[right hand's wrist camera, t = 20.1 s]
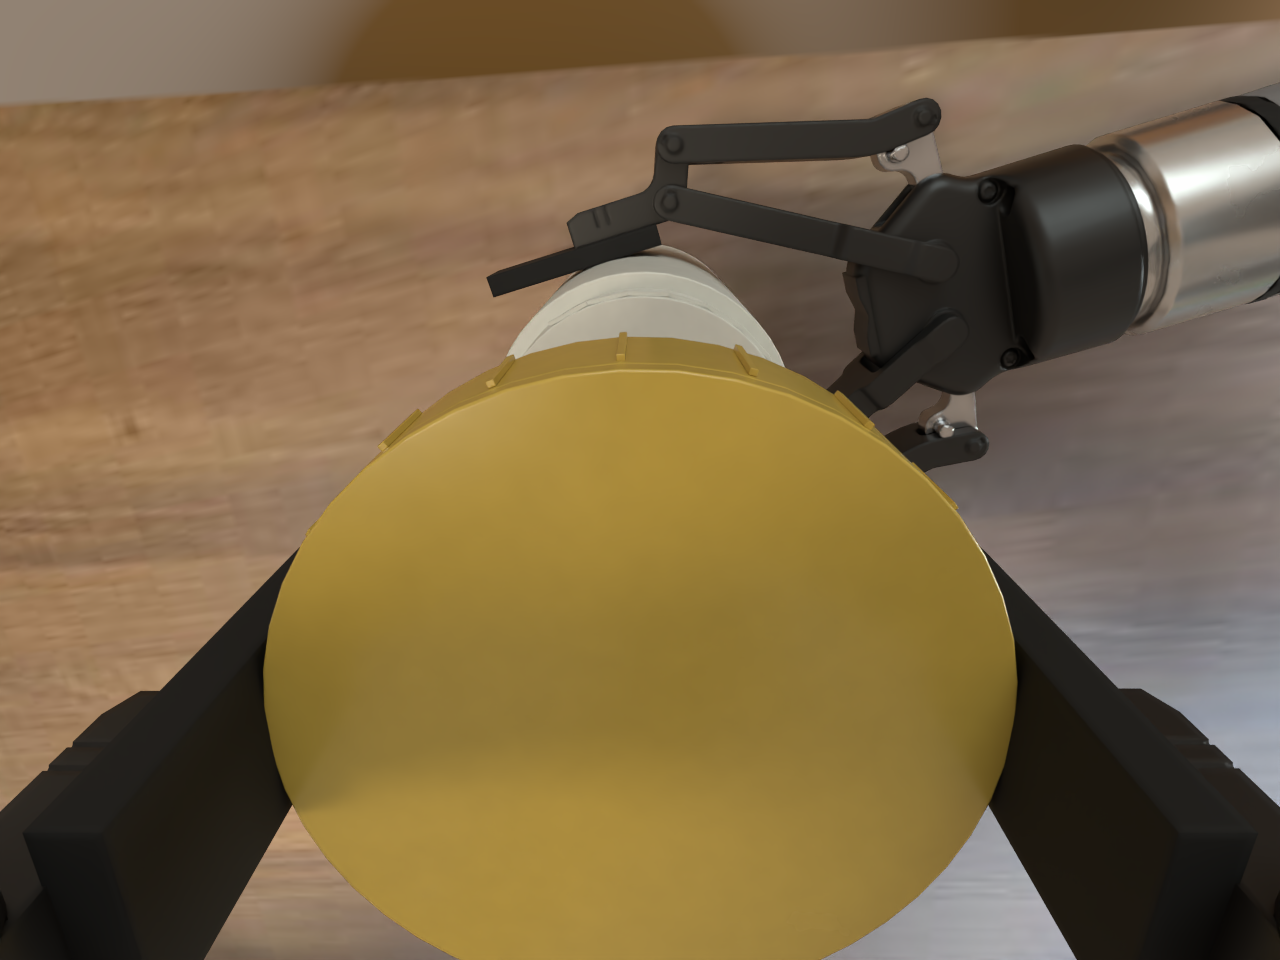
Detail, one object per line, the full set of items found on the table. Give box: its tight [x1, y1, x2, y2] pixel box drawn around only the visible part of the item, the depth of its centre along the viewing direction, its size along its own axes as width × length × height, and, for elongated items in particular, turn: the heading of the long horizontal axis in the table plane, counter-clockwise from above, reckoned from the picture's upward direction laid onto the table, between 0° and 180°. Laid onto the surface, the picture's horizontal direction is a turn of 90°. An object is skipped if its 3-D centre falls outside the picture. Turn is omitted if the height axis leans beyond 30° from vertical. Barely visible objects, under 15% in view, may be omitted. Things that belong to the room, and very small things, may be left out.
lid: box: [263, 332, 1018, 960], centre depth 12 cm, size 10×10×2 cm
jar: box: [506, 245, 785, 367], centre depth 30 cm, size 10×10×16 cm
